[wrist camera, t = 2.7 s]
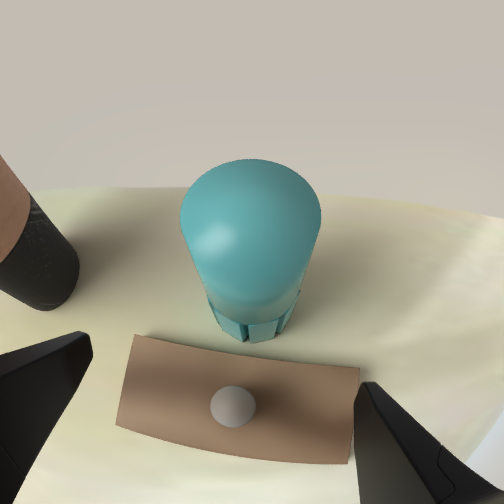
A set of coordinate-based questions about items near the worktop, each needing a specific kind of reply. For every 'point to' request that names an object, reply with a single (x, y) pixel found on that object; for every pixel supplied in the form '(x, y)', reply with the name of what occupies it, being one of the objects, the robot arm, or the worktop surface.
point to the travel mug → (32, 249)
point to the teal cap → (251, 242)
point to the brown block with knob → (239, 403)
